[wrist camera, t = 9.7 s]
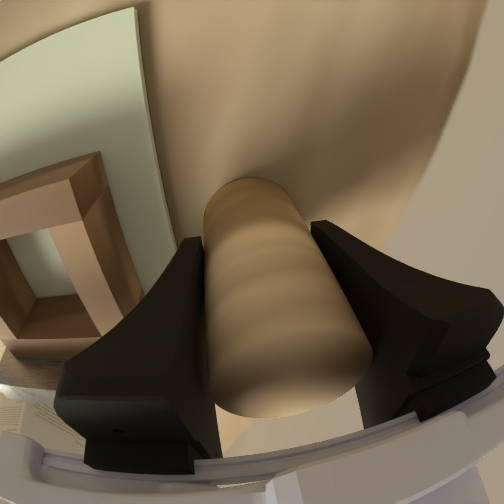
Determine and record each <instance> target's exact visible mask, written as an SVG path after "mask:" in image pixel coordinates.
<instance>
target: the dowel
mask: <svg viewBox="0 0 504 504" xmlns="http://www.w3.org/2000/svg"><path fill="white" fill-rule="evenodd" d="M204 292H205V326H206V350H207V370H208V387H209V393H210V396H211V398H212V400H213V401H214V402H215V403H216V404H217V405H218V406H219V407H220V408H222V409H224V410H226V411H228V412H230V413H233V414H236V415H239V416H244V417H251V418H278V417H285V416H291V415H296V414H300V413H303V412H307V411H310V410H313V409H316V408H319V407H321V406H323V405H326V404H328V403H330V402H332V401H334V400H335V399H337V398H338V397H340V396H342V395H343V394H345V393H346V392H348V391H349V390H350V389H352V388H353V387H354V386H355V385H356V384H357V383H358V382H359V381H360V380H361V379H362V378H363V377H364V375H365V374H366V372H367V371H368V369H369V367H370V365H371V362H372V357H373V352H372V348H371V345H370V343H369V341H368V339H367V337H366V335H365V333H364V331H363V329H362V327H361V325H360V323H359V321H358V319H357V317H356V315H355V314H354V312H353V310H352V308H351V306H350V304H349V302H348V300H347V298H346V296H345V294H344V293H343V291H342V289H341V287H340V285H339V283H338V281H337V279H336V278H335V276H334V274H333V272H332V270H331V268H330V267H329V265H328V263H327V261H326V259H325V258H324V256H323V254H322V252H321V251H320V249H319V247H318V245H317V243H316V242H315V240H314V238H313V236H312V235H311V233H310V231H309V229H308V228H307V226H306V224H305V223H304V221H303V219H302V217H301V216H300V214H299V212H298V211H297V209H296V207H295V206H294V204H293V202H292V201H291V199H290V197H289V196H288V194H287V193H286V192H285V191H284V190H283V189H282V188H281V187H280V186H278V185H277V184H275V183H273V182H271V181H269V180H266V179H261V178H243V179H239V180H235V181H233V182H230V183H228V184H227V185H225V186H223V187H222V188H221V189H219V190H218V191H217V192H216V193H215V194H214V195H213V197H212V198H211V199H210V201H209V203H208V205H207V207H206V210H205V214H204Z"/></svg>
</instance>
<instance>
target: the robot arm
mask: <svg viewBox="0 0 504 504" xmlns="http://www.w3.org/2000/svg"><path fill="white" fill-rule="evenodd" d="M311 235H312V236H313V238H314V240H315V242H316V243H317V245H318V247H319V249H320V251H321V252H322V254H323V256H324V258H325V259H326V261H327V263H328V265H329V267H330V268H331V270H332V272H333V274H334V276H335V278H336V279H337V281H338V283H339V285H340V287H341V289H342V291H343V293H344V294H345V296H346V298H347V300H348V302H349V304H350V306H351V308H352V310H353V312H354V314H355V315H356V317H357V319H358V321H359V323H360V325H361V327H362V329H363V331H364V333H365V335H366V337H367V339H368V341H369V343H370V345H371V348H372V352H373V357H372V362H371V365H370V367H369V369H368V371H367V372H366V374H365V375H364V377H363V378H362V379H361V380H360V381H359V382H358V383H357V384H356V385H355V389H356V394H357V398H358V401H359V406H360V411H361V416H362V421H363V426H364V430H361V431H358V432H355V433H351V434H348V435H345V436H341V437H337V438H334V439H330V440H326V441H322V442H318V443H313V444H309V445H305V446H300V447H295V448H290V449H285V450H279V451H274V452H267V453H261V454H254V455H246V456H238V457H228V458H223V456H222V450H221V444H220V438H219V431H218V424H217V417H216V410H215V402H214V401H213V400H212V398H211V396H210V393H209V387H208V370H207V350H206V326H205V292H204V250H203V245H202V240H201V236H199V237H192V238H185V239H184V240H183V241H182V242H181V244H180V246H179V247H178V249H177V251H176V252H175V254H174V256H173V257H172V259H171V261H170V262H169V264H168V265H167V267H166V268H165V270H164V271H163V273H162V274H161V276H160V277H159V278H158V280H157V281H156V282H155V284H154V285H153V286H152V288H151V289H150V290H149V292H148V293H147V294H146V295H145V297H144V298H143V299H142V300H141V301H140V302H139V303H138V304H137V305H136V306H135V308H134V309H133V310H132V311H130V312H129V313H128V314H127V315H126V316H125V317H124V318H123V319H122V320H121V321H120V322H119V323H118V324H117V325H116V326H115V327H113V328H112V329H111V330H110V331H109V332H107V333H106V334H105V335H104V336H102V337H101V338H100V339H99V340H97V341H96V342H95V343H93V344H92V345H91V346H89V347H88V348H86V349H85V350H83V351H82V352H80V353H79V354H77V355H76V356H74V357H73V358H71V359H70V360H68V361H66V362H65V363H64V365H63V368H62V372H61V375H60V378H59V382H58V386H57V390H56V394H55V398H54V404H53V408H54V410H55V412H56V413H57V415H58V416H59V417H60V418H61V419H62V420H63V421H64V422H65V423H66V424H67V425H68V426H70V427H71V428H72V429H73V430H74V431H76V432H77V433H78V434H80V435H81V436H82V437H83V438H85V439H86V443H85V452H84V455H81V454H75V453H68V452H63V451H57V450H52V449H47V448H43V446H42V445H40V444H39V443H38V442H36V441H35V440H33V439H31V438H29V437H27V436H24V435H20V434H16V433H13V432H9V431H5V430H3V431H2V433H1V438H0V498H1V499H3V500H5V501H7V502H9V503H11V504H490V502H489V499H488V496H487V494H486V491H485V488H484V485H483V483H482V480H481V478H480V475H479V473H478V470H477V468H476V465H477V464H478V463H479V462H480V461H481V460H482V458H483V456H485V455H486V454H487V453H489V452H490V451H492V450H493V449H494V448H496V447H497V446H498V445H500V444H501V443H502V442H503V441H504V365H503V366H501V367H500V368H498V369H497V370H495V371H493V370H492V368H491V367H490V365H489V364H488V362H487V360H488V359H489V357H490V354H489V352H488V351H487V349H486V346H487V345H488V344H489V342H490V340H491V339H492V337H493V336H494V334H495V333H496V331H497V330H498V328H499V326H500V324H501V322H502V319H503V316H504V307H503V305H502V304H501V302H500V301H499V300H498V299H497V298H496V296H495V295H494V294H493V293H492V292H491V291H490V290H489V289H485V288H480V287H475V286H470V285H465V284H461V283H457V282H453V281H450V280H446V279H443V278H440V277H437V276H434V275H431V274H429V273H426V272H423V271H420V270H418V269H415V268H413V267H410V266H408V265H406V264H404V263H401V262H400V261H397V260H395V259H393V258H391V257H389V256H387V255H385V254H384V253H382V252H380V251H378V250H376V249H374V248H373V247H371V246H369V245H367V244H366V243H364V242H362V241H361V240H359V239H358V238H356V237H354V236H353V235H351V234H349V233H348V232H346V231H345V230H343V229H341V228H340V227H338V226H336V225H335V224H333V223H331V222H329V221H327V220H322V221H314V222H311ZM269 479H270V480H269ZM263 480H266V481H263ZM255 481H261V482H256V483H251V484H245V485H239V486H233V487H226V488H219V487H217V486H216V485H227V484H238V483H247V482H255Z"/></svg>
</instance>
